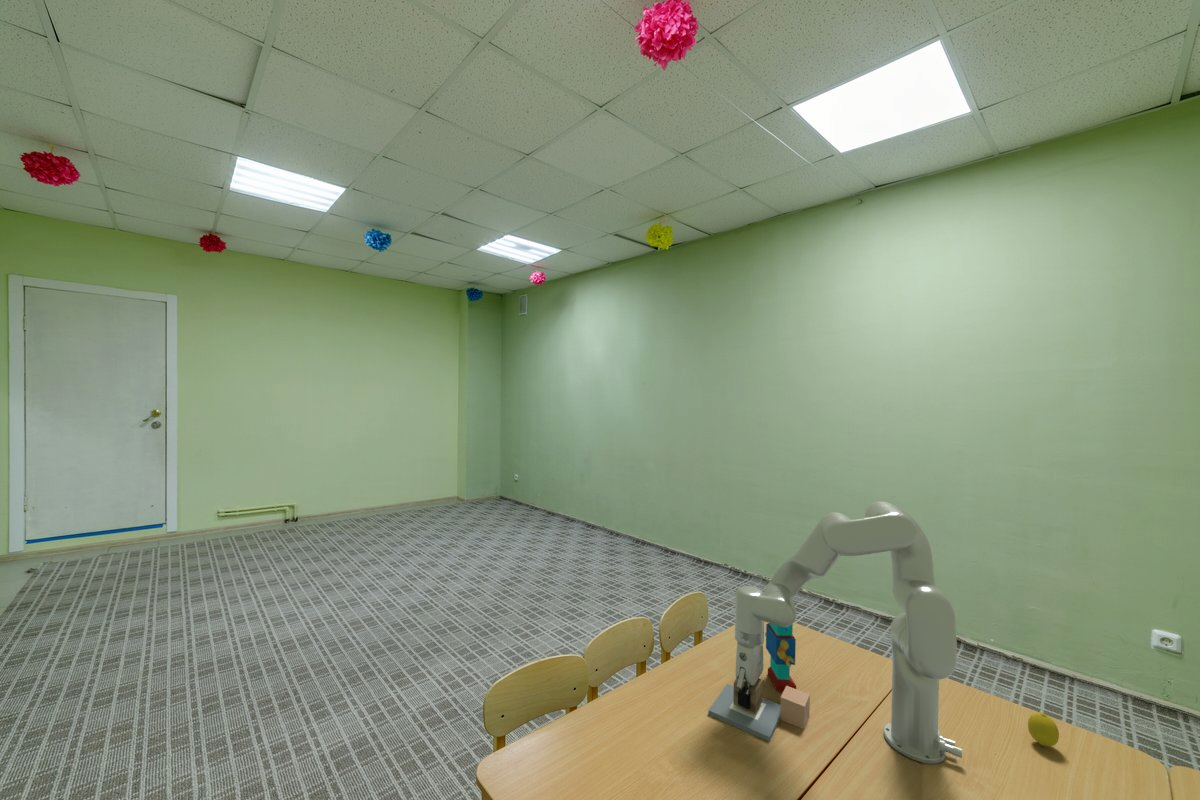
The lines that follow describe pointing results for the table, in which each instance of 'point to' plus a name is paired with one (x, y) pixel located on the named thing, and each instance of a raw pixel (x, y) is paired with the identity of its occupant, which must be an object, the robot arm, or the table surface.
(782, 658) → the toy robot
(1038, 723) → the lemon
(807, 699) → the terracotta block
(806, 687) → the table surface
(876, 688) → the table surface
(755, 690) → the walnut block
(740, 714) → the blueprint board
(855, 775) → the table surface
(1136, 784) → the table surface
